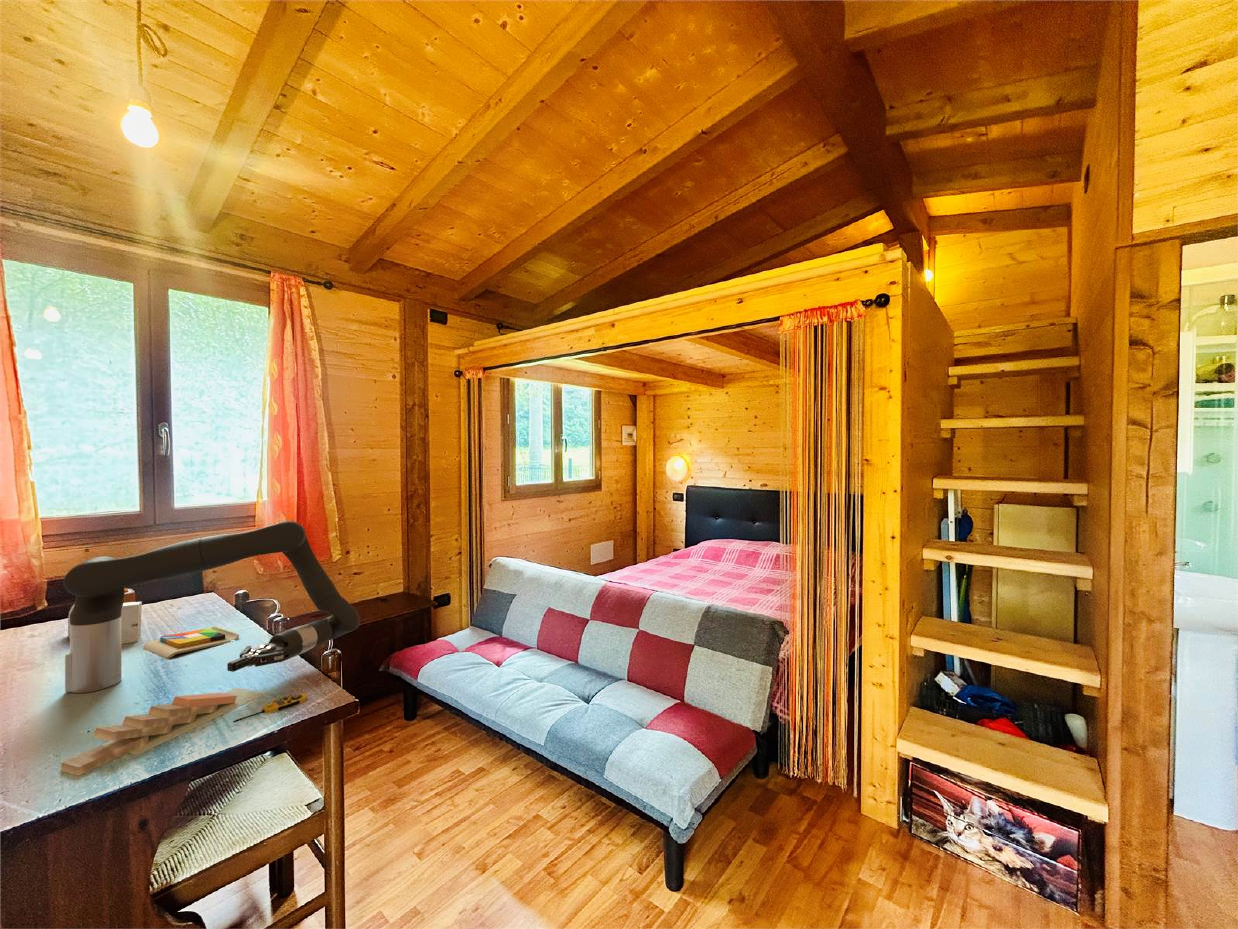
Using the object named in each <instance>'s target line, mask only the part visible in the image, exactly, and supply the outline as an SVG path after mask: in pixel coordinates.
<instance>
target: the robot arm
mask: <svg viewBox="0 0 1238 929" xmlns="http://www.w3.org/2000/svg"><path fill="white" fill-rule="evenodd" d="M276 553H277V554H278V553H282V554H283V555H284V556H285V557H286V558H287V559H288V561H289V562H290V564H291V565H292V567H293V568H294V569H295V571H296V573H297V575H298V577H299V579H300V581H301V583H302V586H303V587H304V590H305V592H306V593H307V595H308V597H309V598H310V600H311V602H312V603H313V604H314V607H315V608H316V609H317V610H318V611H319V612H329V613H330V614H331V615H330V616H326V617H325V618H323V619H318V620H314V621H311V622H308V623H306V624H304V625H299V626H296V627H293V628H290V629H287V630H284V631H283V632H282V631H281V632H279V633H277V634H274V635H273V636H272V637H271V638H270V639H269V641H268V642H267V643H262V644H261V645H258V646H257V647H254V648H253V647H252V645H247V646H246V647H244V648H243V650H241V652H240V653H239V658H236V659H234V660H231V661H229V662H227V666H226V667H227V668H226V670H227V672H231V673H234V672H236V671H239V670H241V669H243V668H246V667H247V668H249V667H250V668H251V667H253V666H254V667H256V668H257V667H262V666H267V665H272V664H277V663H282V662H285V661H287V660H289V659H292V658H295V657H296V656H298V655H299V656H300V655H301V654H304V653H306V652H308V651H310V650H311V649H313V648H317V647H318V646H320V645H322V644H325V643H326V642H327V641H331V640H334V639H337V638H339V637H341V636H343V635H346V634H348V633H351V632H353V631H355V630H356V629H357V628H359V626H360V623H361V617H360V614H359V612H358V611H357V609H356V608H355V606H353V605H352V604H351V603H350V602H349V601H348V600H346V599H345V598H344V597H343V596H341V594H340V592H339V591H338V589H337V588H336V586H335V584H334V583H333V580H331V579H330V577H329V575H328V573H327V571H325V570H324V568H323V566H322V565H321V563H320V562H319V560H318V558H317V557H316V555H315V553H314V552H313V550H312V548H311V545H310V542H309V540H308V536H307V532H306V529H305V527H304V526H303V525H302V524H300V523H299V522H296V521H293V520H285V521H279V522H277V523H274V524H270V525H267V526H264V527H260V528H258V529H254V530H249V531H243V532H236V533H226V534H224V533H223V534H217V535H209V536H203V537H199V538H193V539H189V540H185V541H184V540H183V541H180V542H176V543H172V544H169V545H165V546H163V547H159V548H156V549H154V550H151V551H147V552H144V553H141V554H138V555H137V554H136V555H132V556H127V557H122V558H115V557H112V556H103V555H102V556H101V555H100V556H96V557H91V558H90V559H87V560H84V561H82V562H80V563H78V564H76V565H75V566H73V567H72V568H71V569H69V571H68V572H67V573H66V574H65V576H64V578H63V588H64V590H65V591H67V593H69V594H71V595H73V596H75V602H74V604H75V605H74V604H73V605H74V607H73V610H72V612H71V614H70V638H69V652H68V653H66V655H65V656H64V679H65V680H64V686H65V687H64V689H65V690H64V693H74V694H84V693H90V692H91V693H92V692H95V691H101V690H103V689H107V688H110V687H113V686H115V685H116V684H118V683H120V682H121V681H122V673H123V672H122V644H121V611H122V606H123V603H124V593H125V588H127V587H129V586H133V585H137V584H141V583H146V582H151V581H158V580H163V579H170V578H175V577H179V576H185V575H186V576H187V575H190V574H195V573H201V572H205V571H209V570H213V569H217V568H219V567H223V566H227V565H230V564H234V563H236V562H238V561H241V560H244V559H249V558H251V557H257V556H262V555H263V556H264V555H271V554H276Z"/></svg>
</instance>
